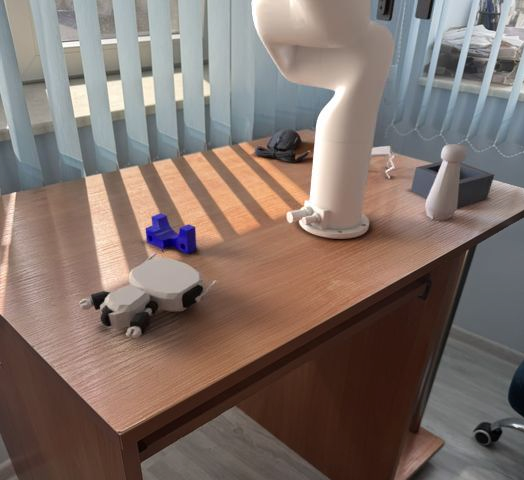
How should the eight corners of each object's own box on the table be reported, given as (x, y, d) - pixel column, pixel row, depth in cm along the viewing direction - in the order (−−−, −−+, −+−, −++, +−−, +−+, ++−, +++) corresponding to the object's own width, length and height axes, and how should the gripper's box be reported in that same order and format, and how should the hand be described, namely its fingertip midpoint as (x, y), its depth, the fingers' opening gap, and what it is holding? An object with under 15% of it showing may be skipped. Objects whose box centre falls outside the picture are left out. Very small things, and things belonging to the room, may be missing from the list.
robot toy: (138, 359, 63) (222, 302, 72) (131, 330, 60) (220, 274, 69) (77, 321, 69) (162, 272, 78) (69, 292, 66) (157, 246, 75)
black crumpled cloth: (327, 147, 132) (328, 130, 130) (296, 165, 120) (297, 147, 117) (284, 139, 137) (285, 123, 134) (250, 156, 124) (250, 138, 122)
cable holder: (147, 242, 86) (144, 219, 84) (162, 235, 88) (160, 213, 86) (180, 257, 82) (179, 233, 80) (196, 249, 85) (195, 226, 82)
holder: (452, 209, 102) (458, 183, 99) (410, 191, 109) (415, 167, 106) (487, 198, 107) (494, 174, 104) (445, 182, 114) (451, 159, 111)
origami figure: (389, 183, 112) (393, 160, 109) (352, 176, 115) (355, 153, 112) (404, 168, 121) (408, 146, 118) (369, 161, 124) (373, 140, 121)
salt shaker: (451, 211, 101) (469, 142, 93) (456, 223, 97) (476, 152, 89) (420, 209, 101) (436, 140, 94) (424, 221, 97) (441, 149, 89)
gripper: (443, -104, 88) (420, 16, 98) (367, -114, 80) (352, 18, 90) (480, -106, 83) (452, 20, 93) (403, -117, 75) (383, 23, 85)
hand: (403, 19), depth 92 cm, fingers open, 9 cm apart
